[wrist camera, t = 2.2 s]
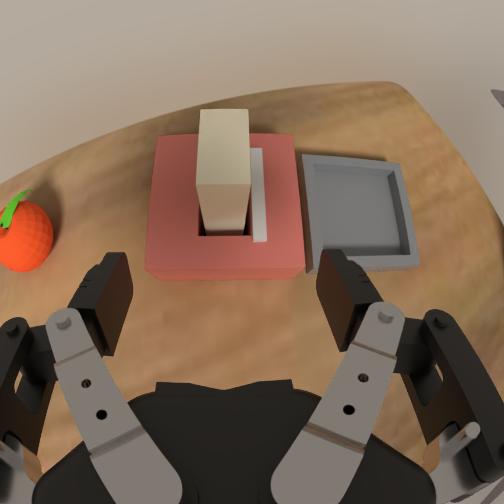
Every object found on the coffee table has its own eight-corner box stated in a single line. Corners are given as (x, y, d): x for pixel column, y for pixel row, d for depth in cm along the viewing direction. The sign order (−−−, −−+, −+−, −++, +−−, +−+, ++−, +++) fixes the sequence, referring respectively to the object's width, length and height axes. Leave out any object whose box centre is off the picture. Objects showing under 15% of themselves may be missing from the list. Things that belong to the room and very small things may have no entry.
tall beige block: (240, 190, 29) (248, 109, 18) (241, 244, 28) (250, 184, 16) (209, 190, 29) (200, 109, 17) (208, 244, 28) (195, 184, 16)
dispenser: (283, 162, 30) (293, 130, 25) (292, 278, 27) (307, 265, 22) (166, 163, 29) (156, 131, 24) (159, 280, 26) (142, 267, 21)
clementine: (34, 201, 27) (0, 174, 20) (77, 213, 27) (44, 183, 20) (10, 267, 25) (-30, 251, 18) (52, 286, 25) (11, 272, 18)
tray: (389, 173, 31) (399, 163, 29) (407, 269, 28) (419, 264, 26) (296, 166, 30) (301, 154, 28) (306, 273, 28) (313, 268, 25)
